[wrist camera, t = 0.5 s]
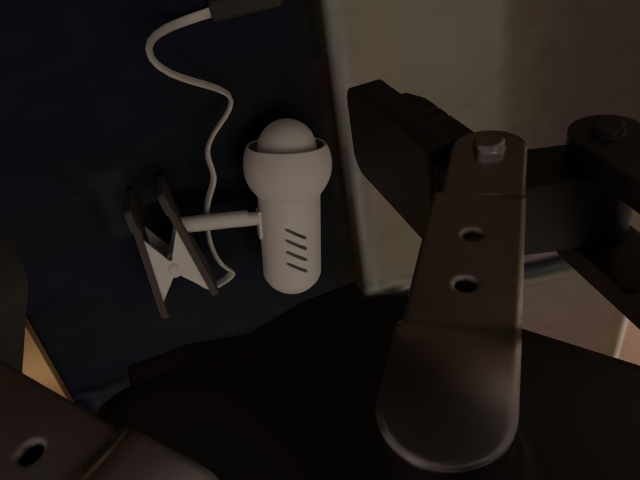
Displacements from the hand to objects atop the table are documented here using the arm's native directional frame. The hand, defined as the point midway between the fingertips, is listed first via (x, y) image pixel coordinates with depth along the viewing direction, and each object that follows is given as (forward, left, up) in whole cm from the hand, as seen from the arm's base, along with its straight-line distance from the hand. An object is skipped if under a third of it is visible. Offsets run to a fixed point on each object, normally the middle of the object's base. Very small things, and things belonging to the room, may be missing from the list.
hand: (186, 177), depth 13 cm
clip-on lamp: (+9, +3, -20) cm, 22 cm away
